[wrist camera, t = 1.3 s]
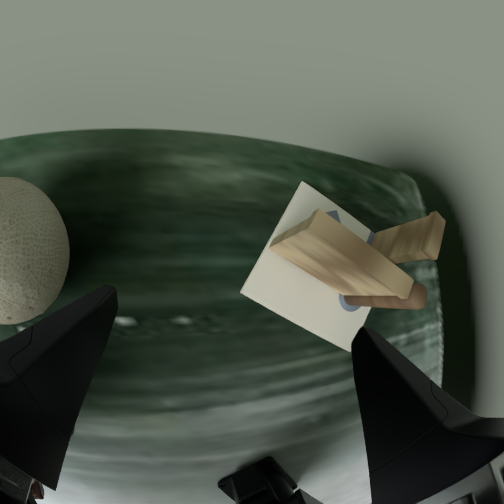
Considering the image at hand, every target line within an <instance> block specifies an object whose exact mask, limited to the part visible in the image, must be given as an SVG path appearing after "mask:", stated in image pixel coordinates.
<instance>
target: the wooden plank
mask: <svg viewBox="0 0 504 504" xmlns="http://www.w3.org/2000/svg"><path fill="white" fill-rule="evenodd" d="M444 227H445V220H444V219H443V218H442V217H441V216H440V215H439V213H438V212H437V211H435V212H432V213H430V216H427V217H423V218H420V219H417V220H414V221H411V222H408V223H405V224H402V225H399V226H395V227H392V228H389V229H386V230H383V231H380V232H377V233H375V236H374V238H373V241H372V244H371V246H372V247H373V248H374V249H375V250H377V251H378V252H379V253H381V254H382V255H383V256H384V257H386V258H387V259H388V260H390V261H391V262H392V263H393V264H397V263H403V262H410V261H416V260H422V259H430V260H435V259H437V257H438V253H439V250H440V245H441V241H442V236H443V232H444ZM344 300H345V302H346V303H347V304H348V305H350V306H364V307H380V308H398V309H422V308H423V307H424V306H425V304H426V301H427V290H426V288H425V286H424V285H423V284H413V285H412V288H411V291H410V294H409V297H408V299H401V298H399V297H398V296H360V295H344Z"/></svg>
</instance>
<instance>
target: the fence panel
mask: <svg viewBox="0 0 504 504" xmlns="http://www.w3.org/2000/svg"><path fill="white" fill-rule="evenodd" d="M268 249H270V250H272V251H273V252H275V253H276V254H278V255H280V256H281V257H283V258H285V259H286V260H288V261H289V262H291V263H293V264H294V265H296V266H297V267H299V268H301V269H302V270H304V271H305V272H307V273H309V274H310V275H312V276H313V277H315V278H317V279H318V280H320V281H321V282H323V283H324V284H326V285H328V286H329V287H331V288H332V289H334V290H336V291H337V292H339V293H340V294H342V295H360V296H398V297H399V298H401V299H408V297H409V294H410V291H411V288H412V285H413V282H414V280H413V279H412V278H411V277H409V276H408V275H407V274H406V273H404V272H403V271H402V270H401V269H400V268H398V267H397V266H396V265H395V264H393V263H392V262H391V261H390V260H388V259H387V258H386V257H384V256H383V255H382V254H381V253H379V252H378V251H377V250H375V249H374V248H373V247H372V246H370V245H369V244H368V243H366V242H365V241H364V240H362V239H361V238H360V237H358V236H357V235H356V234H354V233H353V232H352V231H350V230H349V229H347V228H346V227H345V226H343V225H342V224H341V223H339V222H338V221H336V220H335V219H334V218H332V217H331V216H329V215H328V214H326V213H325V212H324V211H322V210H321V209H319V208H318V209H317V210H315V211H314V212H313V214H312V216H311V217H309V218H308V219H306V220H304V221H302V222H301V223H299V224H297V225H296V226H294V227H292V228H290V229H289V230H287V231H285V232H284V233H282V234H280V235H278V236H277V237H275V238H273V240H272V242H271V244H270V246H269V247H268Z"/></svg>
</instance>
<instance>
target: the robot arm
mask: <svg viewBox="0 0 504 504" xmlns="http://www.w3.org/2000/svg"><path fill="white" fill-rule="evenodd" d="M117 310H118V301H117V291H116V288H115V287H112V286H108V285H104V286H102V287H100V288H98V289H96V290H94V291H93V292H91V293H89V294H87V295H85V296H83V297H81V298H80V299H78V300H76V301H74V302H72V303H70V304H69V305H67V306H65V307H63V308H61V309H60V310H58V311H56V312H54V313H52V314H51V315H49V316H47V317H45V318H44V319H42V320H40V321H38V322H36V323H35V324H33V326H32V325H31V326H29V327H28V328H26V329H24V330H22V331H21V332H19V333H17V334H15V335H13V336H11V337H9V338H7V339H5V340H3V341H1V342H0V504H37V503H36V501H35V499H34V497H33V495H32V493H31V491H30V487H31V484H32V480H33V479H34V480H36V481H38V482H39V483H41V484H43V485H45V486H47V487H49V488H50V489H52V490H54V491H56V488H57V484H58V480H59V476H60V472H61V468H62V465H63V461H64V458H65V454H66V451H67V448H68V444H69V443H68V442H69V441H70V438H71V435H72V432H73V429H74V426H75V423H76V420H77V417H78V414H79V411H80V409H81V406H82V403H83V400H84V398H85V395H86V393H87V390H88V387H89V385H90V382H91V380H92V377H93V375H94V373H95V370H96V368H97V365H98V363H99V361H100V358H101V356H102V354H103V352H104V349H105V347H106V344H107V341H108V338H109V335H110V332H111V329H112V325H113V322H114V320H115V317H116V314H117ZM351 351H352V361H353V371H354V381H355V386H356V391H357V397H358V402H359V408H360V413H361V419H362V425H363V432H364V438H365V445H366V452H367V459H368V467H369V473H370V474H369V477H370V487H371V497H372V504H504V418H485V417H479V416H477V415H474V414H473V413H471V412H470V411H469V410H468V409H466V408H465V407H464V406H462V405H461V404H460V403H458V402H457V401H456V400H454V399H453V398H452V397H451V396H450V395H448V394H447V393H446V392H445V391H443V390H442V389H441V388H440V387H439V386H438V385H436V384H435V383H434V382H433V381H432V380H430V378H429V377H428V376H426V375H425V374H424V373H423V372H422V371H421V370H420V369H419V368H417V367H416V366H415V365H414V364H413V363H412V362H411V361H409V360H408V359H407V358H406V357H405V356H404V355H403V354H401V353H400V352H399V351H398V350H397V349H396V348H395V347H393V346H392V345H391V344H390V343H389V342H388V341H387V340H385V339H384V338H383V337H382V336H381V335H380V334H378V333H377V332H376V331H375V330H374V329H373V328H371V327H365V326H362V327H360V328H359V330H358V332H357V334H356V335H355V337H354V339H353V341H352V343H351ZM270 460H271V461H270ZM268 461H270V462H268ZM221 484H224V485H221ZM292 486H293V487H292ZM218 487H219V488H220V489H221V490H222V491H223V492H224V493H226V494H227V495H228V496H229V497H230V498H231V499H233V500H234V501H235V502H236V504H323V503H321V502H320V501H318V500H317V499H315V498H313V497H312V496H310V495H309V494H307V493H306V492H304V491H303V490H301V489H298V490H297V491H295V493H294V492H293V490H295V489H296V488H297V484H296V483H295V482H294V481H293V480H292V479H291V477H290V476H289V475H288V474H287V473H286V472H285V471H284V470H283V469H282V468H281V467H280V465H279V464H278V463H277V462H276V461H275V460H274V459H273V458H272V457H266V458H265V459H263V460H261V461H259V462H257V463H255V464H254V465H252V466H250V467H248V468H246V469H244V470H242V471H240V472H238V473H236V474H234V475H232V476H230V477H227V478H225V479H223V480H221V481H219V482H218Z"/></svg>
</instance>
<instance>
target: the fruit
mask: <svg viewBox="0 0 504 504" xmlns="http://www.w3.org/2000/svg"><path fill="white" fill-rule="evenodd" d="M69 251H70V249H69V241H68V235H67V231H66V227H65V225H64V222H63V220H62V217H61V215H60V214H59V212H58V210H57V208H56V207H55V206H54V204H53V203H52V201H51V200H50V199H49V198H48V196H47V195H46V194H45V193H44V192H43V191H41V190H40V189H39V188H37V187H36V186H34V185H32V184H31V183H29V182H26V181H24V180H22V179H19V178H14V177H0V324H17V323H21V322H24V321H28V320H30V319H32V318H34V317H36V316H38V315H39V314H43V313H44V311H45V310H46V309H47V308H48V307H49V306H50V305H51V304H52V303H53V301H54V300H55V299H57V296H58V294H59V292H60V290H61V288H62V286H63V284H64V281H65V278H66V274H67V270H68V266H69V257H70V255H69Z"/></svg>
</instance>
